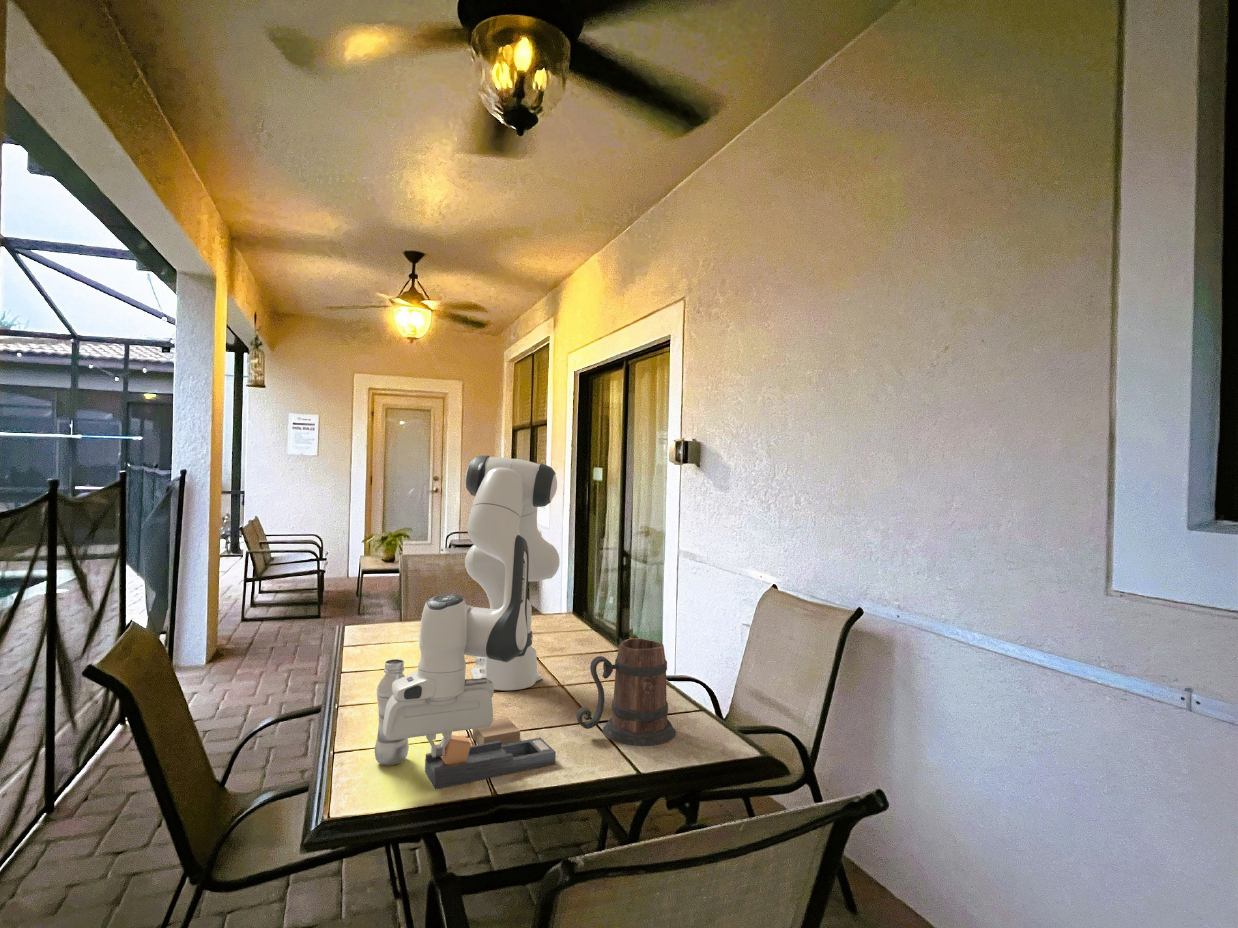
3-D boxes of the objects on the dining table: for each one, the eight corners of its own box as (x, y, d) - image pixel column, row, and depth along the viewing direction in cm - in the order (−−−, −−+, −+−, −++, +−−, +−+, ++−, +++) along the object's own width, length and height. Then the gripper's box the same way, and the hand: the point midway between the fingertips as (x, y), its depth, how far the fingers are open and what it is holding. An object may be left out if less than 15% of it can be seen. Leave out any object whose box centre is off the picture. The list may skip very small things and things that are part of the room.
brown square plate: (472, 737, 145) (472, 723, 145) (507, 731, 149) (507, 717, 149) (483, 751, 138) (484, 736, 138) (519, 744, 142) (520, 730, 142)
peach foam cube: (440, 755, 127) (445, 734, 128) (459, 756, 129) (465, 735, 130) (445, 764, 124) (450, 742, 124) (465, 764, 126) (471, 743, 126)
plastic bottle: (412, 755, 135) (415, 657, 135) (402, 769, 128) (405, 666, 128) (380, 754, 135) (383, 656, 135) (369, 769, 128) (372, 666, 128)
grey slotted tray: (424, 771, 128) (425, 753, 128) (540, 749, 140) (540, 732, 140) (434, 789, 121) (435, 770, 121) (555, 764, 133) (555, 746, 133)
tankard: (656, 713, 162) (658, 632, 162) (689, 740, 146) (691, 650, 147) (565, 725, 153) (567, 639, 153) (589, 754, 138) (592, 658, 138)
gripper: (489, 672, 133) (486, 741, 133) (383, 683, 124) (379, 757, 123) (499, 680, 128) (496, 753, 127) (389, 692, 118) (385, 771, 118)
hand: (438, 755), depth 125 cm, fingers closed
